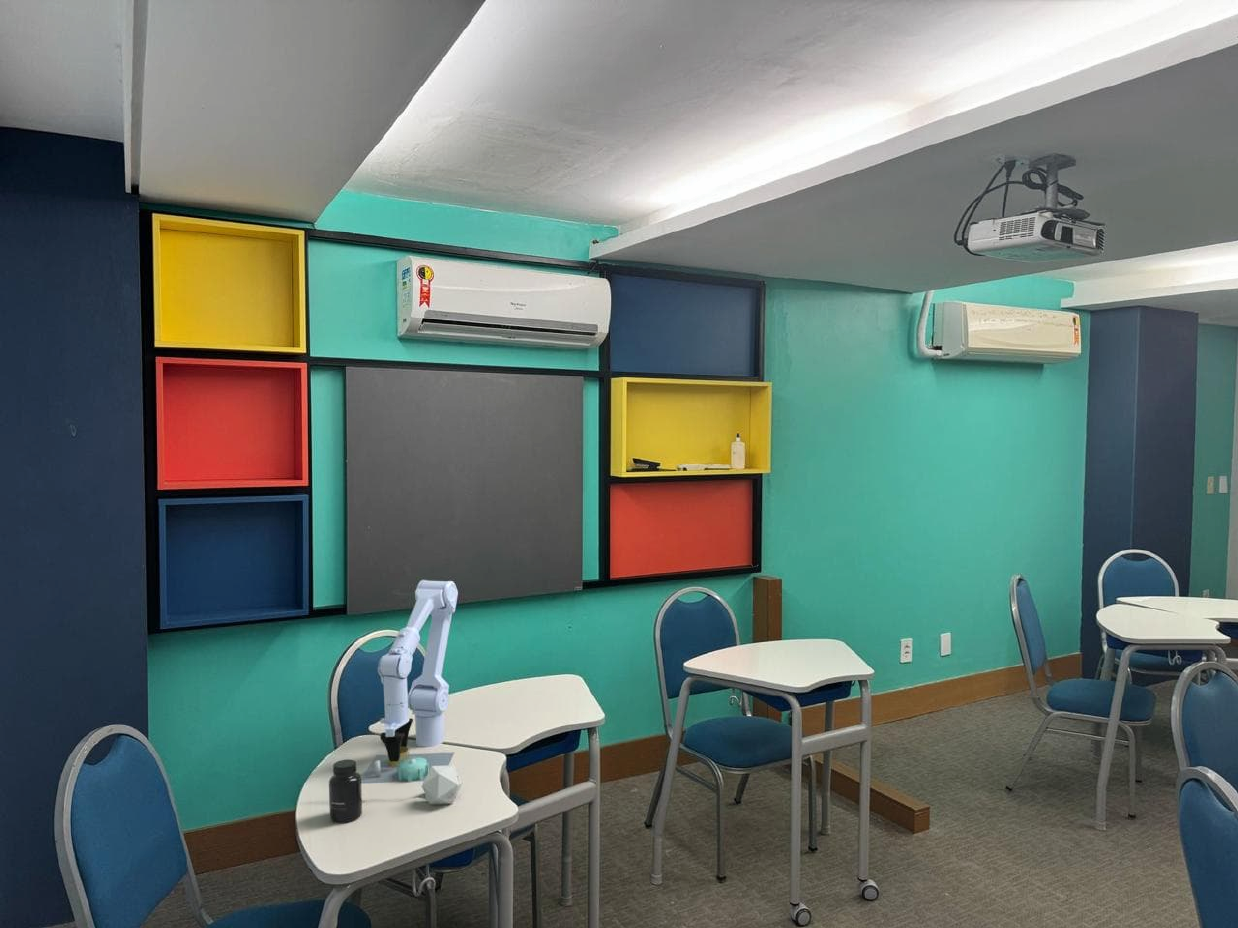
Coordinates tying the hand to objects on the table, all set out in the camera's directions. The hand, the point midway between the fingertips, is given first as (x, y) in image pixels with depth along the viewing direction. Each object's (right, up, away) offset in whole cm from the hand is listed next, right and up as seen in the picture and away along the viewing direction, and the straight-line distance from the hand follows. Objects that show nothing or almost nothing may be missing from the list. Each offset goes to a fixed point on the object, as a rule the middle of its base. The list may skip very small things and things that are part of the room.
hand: (398, 754), depth 210 cm
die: (+15, -4, -20) cm, 26 cm away
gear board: (+3, -3, -3) cm, 5 cm away
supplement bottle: (-4, -5, -26) cm, 27 cm away
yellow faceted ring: (0, -2, 0) cm, 2 cm away
